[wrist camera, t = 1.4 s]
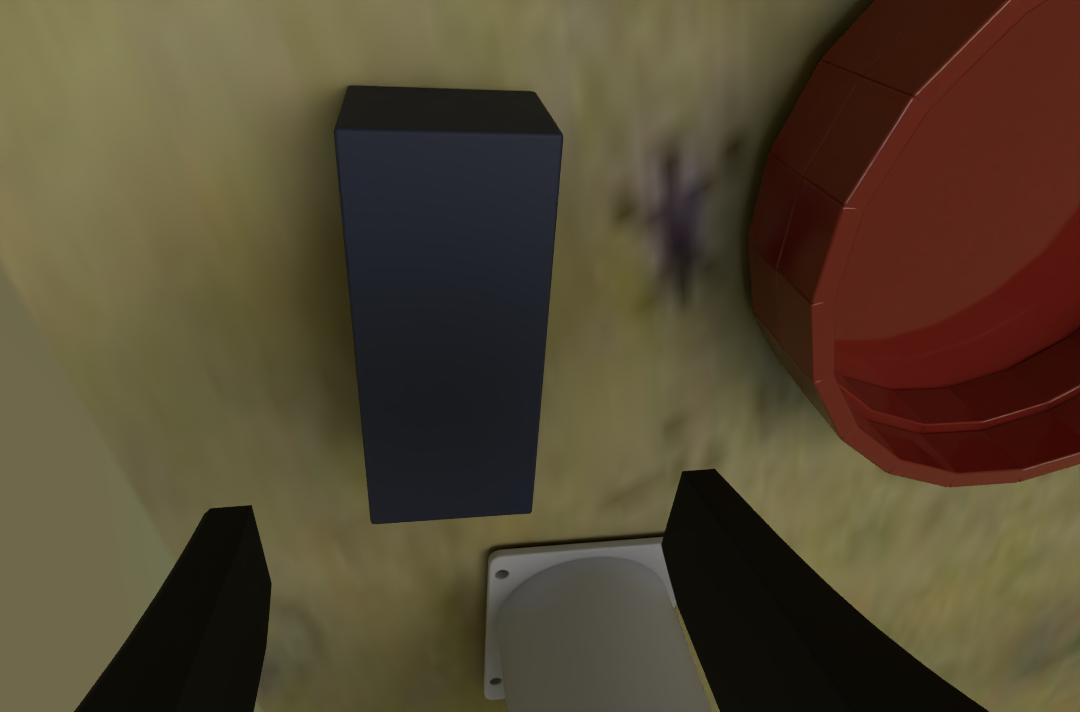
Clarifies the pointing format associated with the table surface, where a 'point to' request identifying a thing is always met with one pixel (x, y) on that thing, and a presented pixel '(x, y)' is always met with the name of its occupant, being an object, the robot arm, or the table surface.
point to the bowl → (933, 239)
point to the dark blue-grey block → (448, 292)
